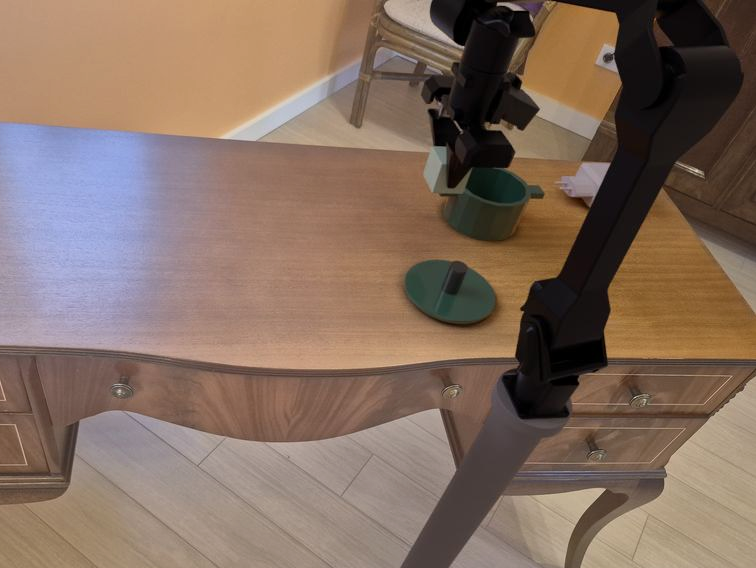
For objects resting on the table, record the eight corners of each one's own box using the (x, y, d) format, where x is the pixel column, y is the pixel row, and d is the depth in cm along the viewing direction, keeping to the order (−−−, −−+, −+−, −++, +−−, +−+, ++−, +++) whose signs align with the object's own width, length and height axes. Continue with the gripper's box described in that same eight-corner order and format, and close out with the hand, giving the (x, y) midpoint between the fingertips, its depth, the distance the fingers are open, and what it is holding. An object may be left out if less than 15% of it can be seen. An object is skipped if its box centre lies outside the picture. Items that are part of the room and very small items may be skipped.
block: (463, 194, 84) (473, 164, 81) (432, 193, 83) (441, 163, 80) (452, 175, 87) (462, 146, 84) (422, 175, 86) (431, 145, 83)
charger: (540, 183, 108) (615, 184, 111) (563, 214, 102) (642, 214, 105) (551, 159, 105) (628, 160, 108) (575, 189, 99) (657, 190, 102)
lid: (506, 326, 82) (520, 298, 78) (416, 327, 80) (427, 299, 76) (475, 265, 90) (487, 237, 86) (393, 265, 88) (402, 236, 84)
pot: (541, 241, 96) (559, 207, 92) (439, 240, 93) (452, 204, 89) (514, 199, 104) (529, 165, 99) (419, 196, 101) (430, 161, 96)
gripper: (580, 103, 68) (525, 219, 80) (516, 35, 80) (476, 144, 92) (488, 99, 66) (445, 218, 78) (436, 30, 78) (406, 142, 90)
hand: (445, 178), depth 84 cm, fingers closed on block, 4 cm apart
